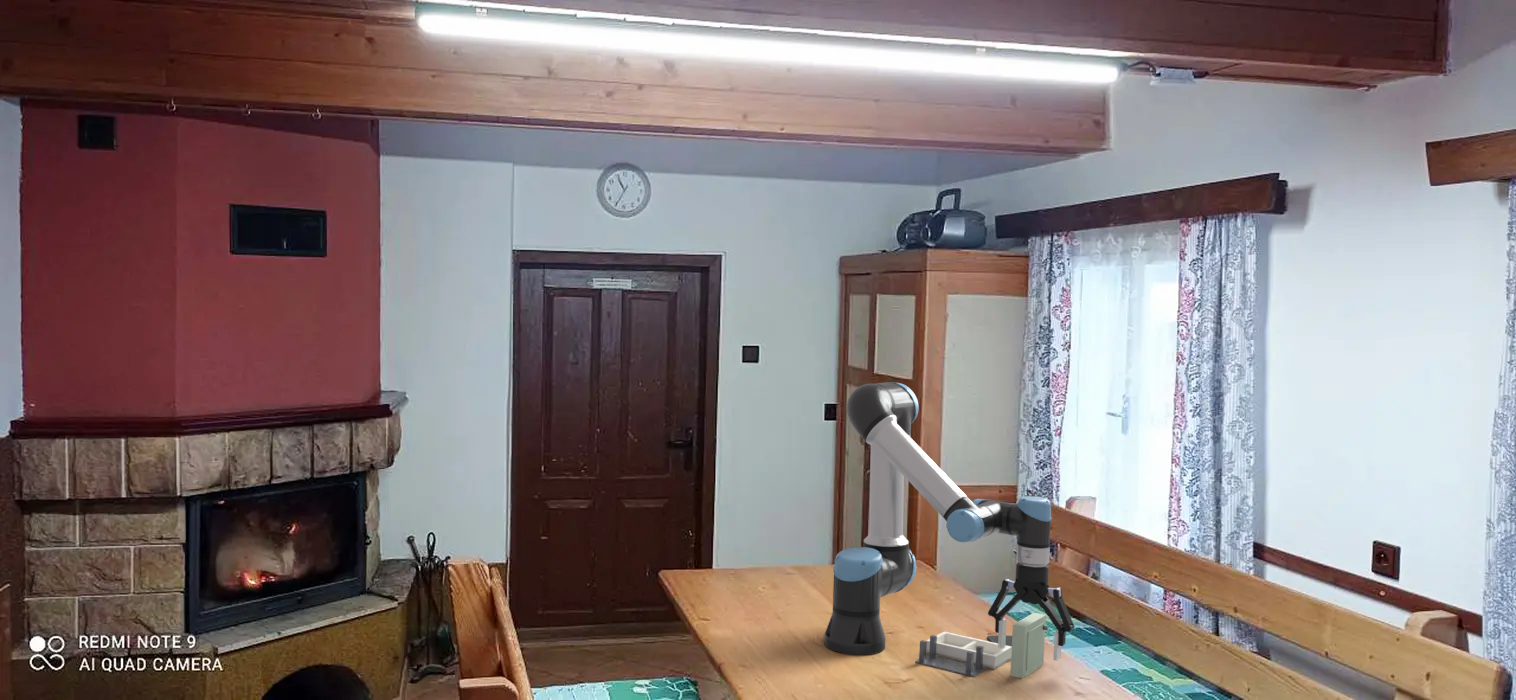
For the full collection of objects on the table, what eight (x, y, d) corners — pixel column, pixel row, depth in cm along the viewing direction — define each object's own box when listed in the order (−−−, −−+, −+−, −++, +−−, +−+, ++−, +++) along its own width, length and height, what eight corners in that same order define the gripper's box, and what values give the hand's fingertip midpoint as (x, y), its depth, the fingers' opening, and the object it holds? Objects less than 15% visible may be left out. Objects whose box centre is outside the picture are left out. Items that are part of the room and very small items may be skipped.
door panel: (1027, 679, 252) (1030, 628, 251) (1010, 675, 254) (1012, 624, 254) (1048, 665, 262) (1050, 616, 262) (1031, 661, 265) (1033, 612, 264)
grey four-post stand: (915, 662, 260) (916, 640, 260) (928, 655, 266) (929, 633, 266) (973, 677, 252) (974, 654, 252) (986, 669, 258) (987, 647, 257)
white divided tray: (925, 652, 268) (926, 640, 268) (943, 643, 276) (944, 631, 276) (994, 669, 258) (995, 656, 258) (1011, 658, 266) (1011, 646, 266)
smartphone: (1007, 655, 268) (985, 635, 282) (1007, 659, 268) (985, 638, 283) (1036, 654, 269) (1012, 635, 284) (1036, 658, 269) (1012, 638, 284)
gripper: (976, 557, 262) (973, 645, 262) (1079, 575, 247) (1075, 668, 248) (989, 552, 268) (985, 638, 268) (1090, 569, 253) (1086, 660, 254)
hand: (1029, 653), depth 258 cm, fingers open, 13 cm apart
